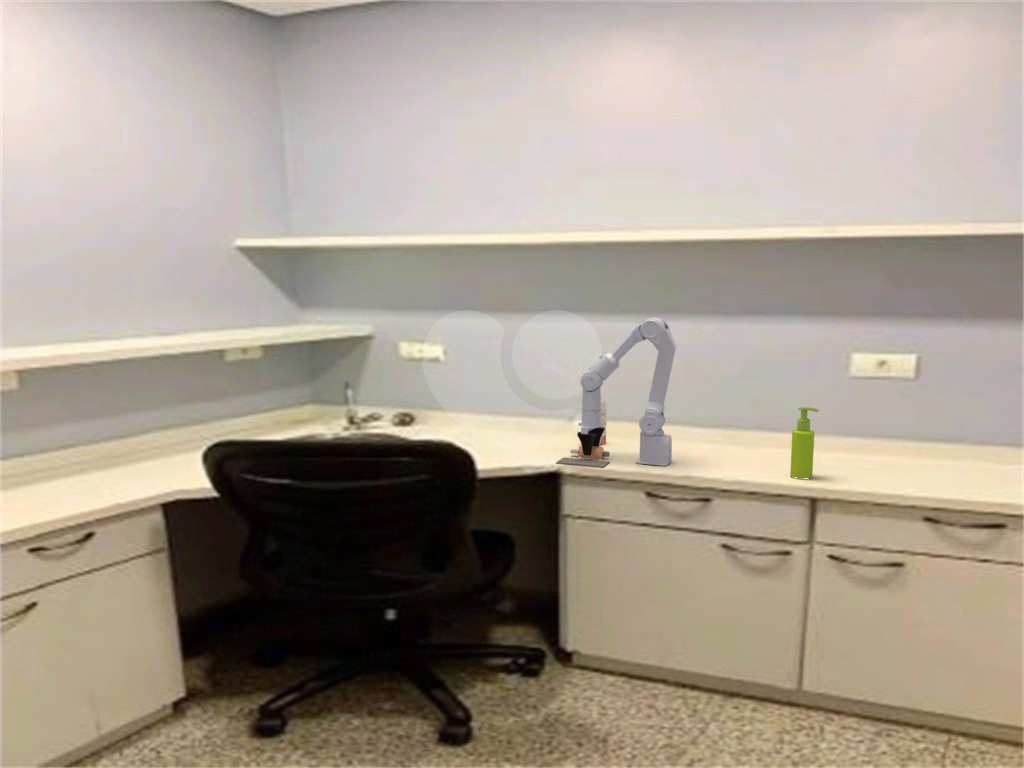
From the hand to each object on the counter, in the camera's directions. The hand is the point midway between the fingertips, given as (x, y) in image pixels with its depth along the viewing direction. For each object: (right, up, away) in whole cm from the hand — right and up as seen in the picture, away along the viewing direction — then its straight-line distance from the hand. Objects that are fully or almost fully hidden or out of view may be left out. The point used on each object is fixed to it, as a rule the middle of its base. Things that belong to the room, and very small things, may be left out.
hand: (590, 452), depth 260 cm
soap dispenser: (+58, -5, -25) cm, 63 cm away
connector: (0, -2, 0) cm, 2 cm away
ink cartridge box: (+3, +1, +19) cm, 20 cm away
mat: (-3, -3, -7) cm, 8 cm away
